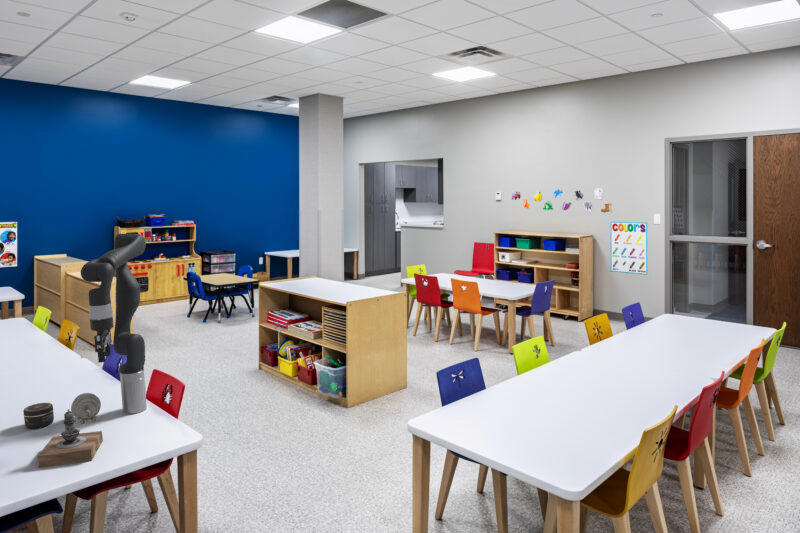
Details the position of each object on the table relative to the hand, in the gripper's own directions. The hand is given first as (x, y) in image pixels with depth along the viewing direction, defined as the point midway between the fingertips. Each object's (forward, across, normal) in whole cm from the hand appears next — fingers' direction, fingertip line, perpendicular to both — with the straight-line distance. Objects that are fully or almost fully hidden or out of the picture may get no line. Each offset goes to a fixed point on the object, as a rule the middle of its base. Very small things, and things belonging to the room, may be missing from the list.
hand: (104, 358), depth 204 cm
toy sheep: (+30, -20, -13) cm, 39 cm away
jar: (+30, -21, -30) cm, 48 cm away
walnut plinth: (+30, +12, -10) cm, 34 cm away
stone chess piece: (+26, +12, -10) cm, 30 cm away
